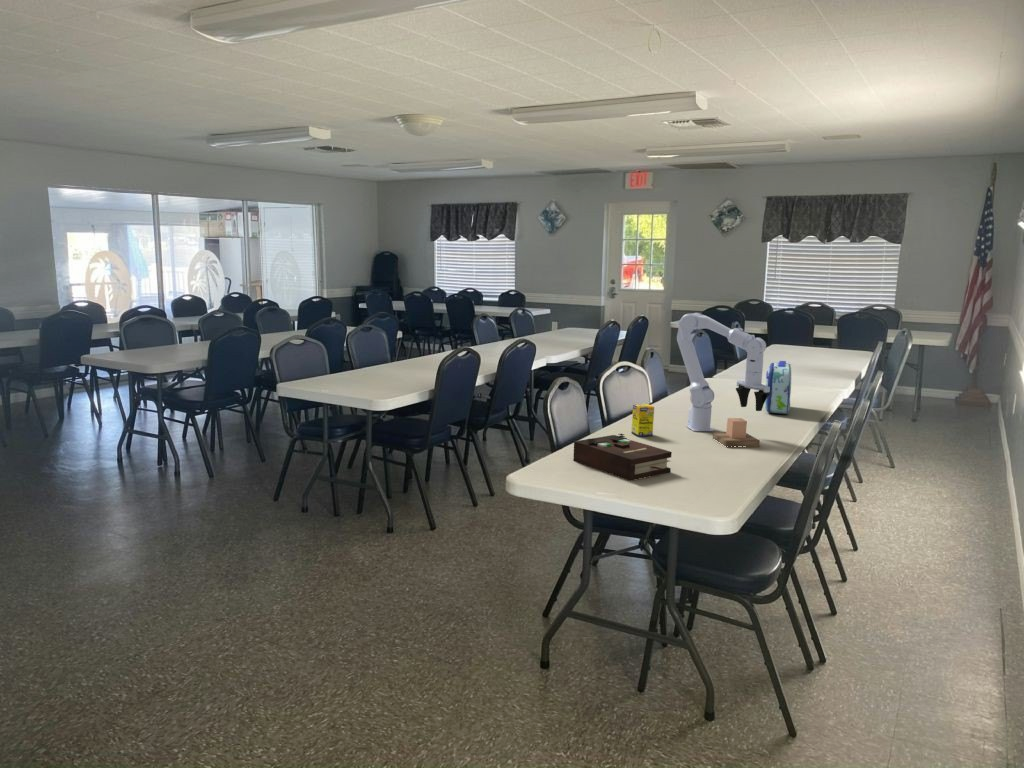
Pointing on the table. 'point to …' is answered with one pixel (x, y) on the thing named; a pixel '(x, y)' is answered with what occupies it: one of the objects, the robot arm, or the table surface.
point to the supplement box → (642, 420)
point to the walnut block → (736, 440)
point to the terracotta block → (736, 428)
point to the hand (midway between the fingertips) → (751, 408)
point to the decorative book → (622, 457)
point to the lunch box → (778, 387)
